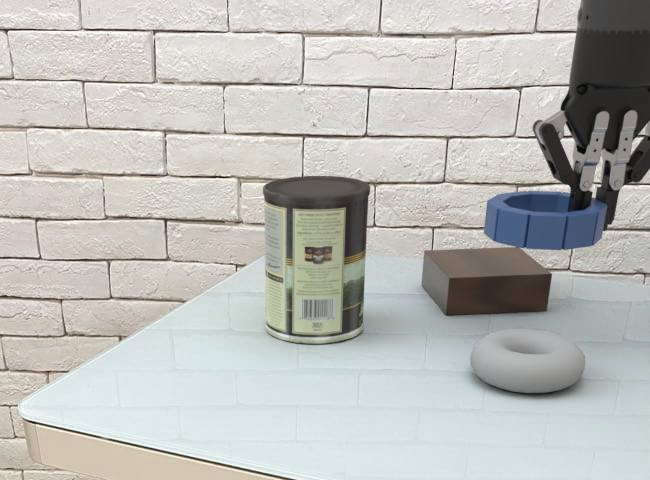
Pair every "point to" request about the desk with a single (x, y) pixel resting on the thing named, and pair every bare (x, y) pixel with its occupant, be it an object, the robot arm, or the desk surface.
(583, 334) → the desk surface
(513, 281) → the platform
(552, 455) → the desk surface
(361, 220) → the coffee can
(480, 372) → the donut
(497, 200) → the ring
